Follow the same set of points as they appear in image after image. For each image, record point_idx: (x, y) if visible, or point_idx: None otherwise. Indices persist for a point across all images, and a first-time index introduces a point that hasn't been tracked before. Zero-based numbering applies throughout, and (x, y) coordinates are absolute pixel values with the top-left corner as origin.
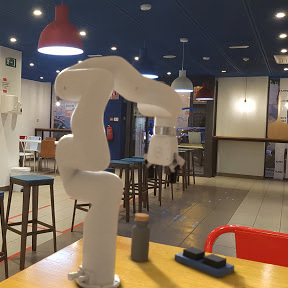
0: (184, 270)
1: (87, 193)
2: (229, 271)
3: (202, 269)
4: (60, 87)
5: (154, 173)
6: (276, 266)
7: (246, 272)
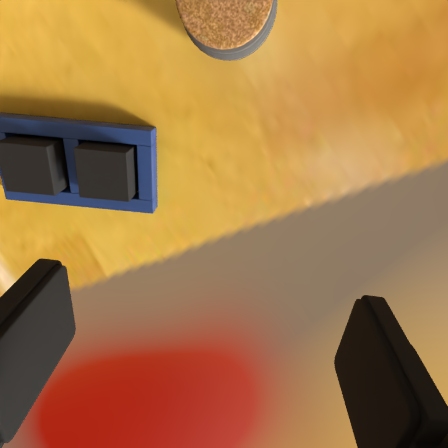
0: (81, 73)
1: None
2: None
3: (49, 118)
4: None
5: (349, 410)
6: None
7: (3, 215)
